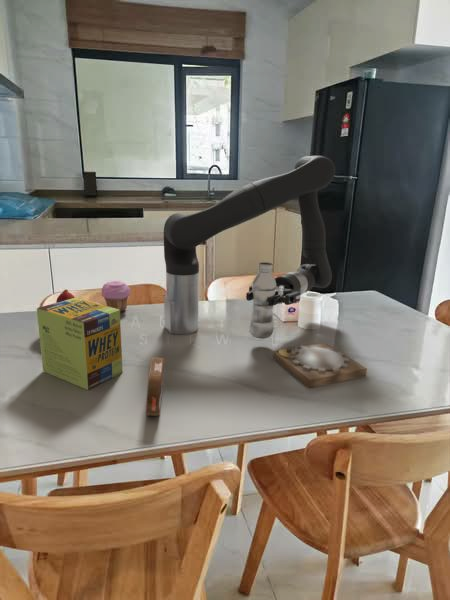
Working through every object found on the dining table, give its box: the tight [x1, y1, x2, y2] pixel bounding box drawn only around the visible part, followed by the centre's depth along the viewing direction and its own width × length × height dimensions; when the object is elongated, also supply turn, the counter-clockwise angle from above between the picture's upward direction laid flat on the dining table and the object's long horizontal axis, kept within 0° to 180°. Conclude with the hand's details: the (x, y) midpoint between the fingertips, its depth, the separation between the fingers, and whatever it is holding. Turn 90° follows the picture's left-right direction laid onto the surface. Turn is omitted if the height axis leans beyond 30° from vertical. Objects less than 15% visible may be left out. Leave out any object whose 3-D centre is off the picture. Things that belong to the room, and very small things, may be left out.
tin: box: [145, 356, 165, 416], centre depth 87 cm, size 15×3×8 cm, turn 5°
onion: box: [55, 288, 76, 303], centre depth 135 cm, size 6×6×8 cm
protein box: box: [36, 297, 124, 391], centre depth 97 cm, size 10×15×16 cm
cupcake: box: [101, 280, 131, 313], centre depth 139 cm, size 9×9×10 cm
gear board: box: [272, 342, 368, 389], centre depth 105 cm, size 16×16×4 cm
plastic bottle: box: [248, 261, 277, 339], centre depth 113 cm, size 6×7×20 cm
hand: (258, 299), depth 111 cm, fingers closed on plastic bottle, 6 cm apart
